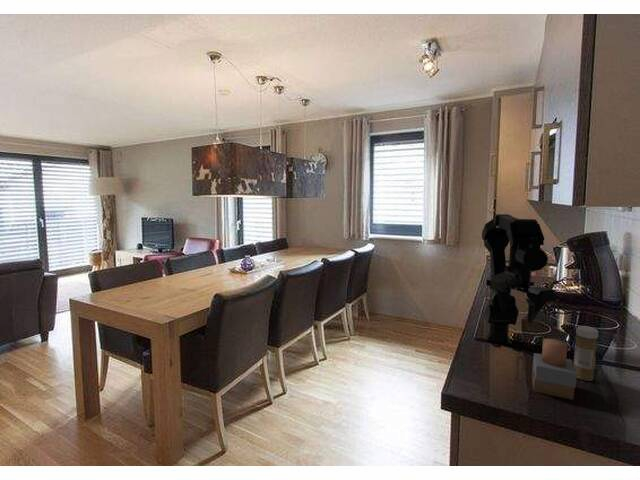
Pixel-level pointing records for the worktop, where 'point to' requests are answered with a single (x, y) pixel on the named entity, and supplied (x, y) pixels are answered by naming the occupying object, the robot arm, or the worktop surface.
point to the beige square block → (552, 388)
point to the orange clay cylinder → (554, 352)
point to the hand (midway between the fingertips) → (516, 316)
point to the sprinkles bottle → (585, 352)
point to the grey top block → (554, 372)
